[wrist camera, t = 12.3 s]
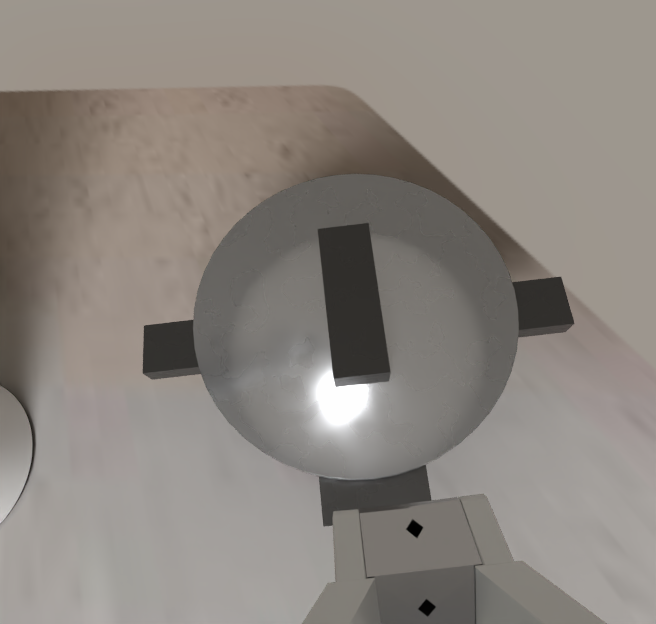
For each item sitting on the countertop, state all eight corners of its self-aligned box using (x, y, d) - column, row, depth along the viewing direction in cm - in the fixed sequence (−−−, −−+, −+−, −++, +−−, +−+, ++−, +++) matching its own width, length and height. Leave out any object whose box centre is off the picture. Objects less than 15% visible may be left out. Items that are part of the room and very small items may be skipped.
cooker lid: (202, 498, 30) (182, 495, 26) (198, 205, 36) (182, 174, 33) (547, 460, 29) (570, 453, 26) (476, 171, 36) (487, 136, 33)
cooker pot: (197, 538, 40) (133, 546, 29) (194, 290, 48) (142, 221, 37) (554, 500, 40) (629, 493, 29) (495, 254, 47) (536, 173, 36)
